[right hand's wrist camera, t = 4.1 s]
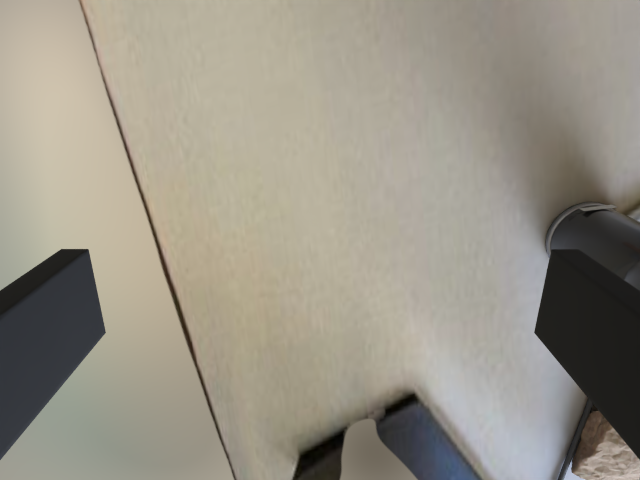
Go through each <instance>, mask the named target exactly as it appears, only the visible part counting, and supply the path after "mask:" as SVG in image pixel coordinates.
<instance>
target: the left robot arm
mask: <svg viewBox="0 0 640 480" xmlns="http://www.w3.org/2000/svg"><path fill="white" fill-rule="evenodd" d="M615 207H616V206H614V205H604V204H602V203H597V202H586V203H581V204H577V205H575V206H572V207H570V208H569V209H567V210H565V211H564V212H563V213H561V214H560V215H559V216H558V217H557V218H556V219H555V221H554V222H553V223H552V225H551V227H550V228H549V231H548V233H547V237H546V251H547V254H548V256H549V258H550V254H551V250H552V249H579V250H580V251H582V252H583V253H585V254H586V255H588V256H589V257H591V258H592V259H594V260H595V261H597V262H598V263H600V264H601V265H603V266H604V267H606V268H607V269H608V270H610V271H611V272H613V273H614V274H616V275H617V276H619V277H620V278H622V279H623V280H625V281H626V282H628V283H629V284H631V285H632V286H634V287H635V288H636V289H638V290H639V291H640V222H639V221H637V220H635V219H633V218H630V217H628V216H626V215H624V214H622V213H620V212H618V211H616V210H614V209H613V208H615ZM592 405H593V403H592V402H591V400H590V399H589V398H588V401H587V404H586V407H585V410H584V413H583V416H582V418H581V421H580V424H579V426H578V429H577V431H576V434H575V436H574V439H573V442H572V444H571V447H570V449H569V452H568V454H567V457H566V459H565V462H564V464H563V467H562V469H561V472H560V475H559V477H558V480H564V477H565V474H566V472H567V469H568V467H569V464H570V462H571V459H572V457H573V455H574V452H575V450H576V447H577V445H578V442H579V440H580V437H581V434H582V431H583V428H584V427H585V424H586V421H587V419H588V416H589V414H590V411H591V408H592Z"/></svg>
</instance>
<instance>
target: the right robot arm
mask: <svg viewBox="0 0 640 480" xmlns="http://www.w3.org/2000/svg"><path fill="white" fill-rule="evenodd" d="M105 333H106V332H105V327H104V322H103V317H102V313H101V308H100V303H99V298H98V293H97V289H96V284H95V279H94V274H93V269H92V264H91V260H90V254H89V250H88V249H61V250H60V251H58V252H57V253H55V254H54V255H52V256H51V257H49V258H48V259H46V260H45V261H43V262H42V263H40V264H39V265H37V266H36V267H34V268H33V269H32V270H30V271H29V272H27V273H26V274H24V275H23V276H21V277H20V278H18V279H17V280H15V281H14V282H12V283H11V284H9V285H8V286H6V287H5V288H4V289H2V290H1V291H0V460H1V458H2V457H3V456H4V455H5V454H6V452H7V451H8V450H9V449H10V447H11V446H12V445H13V444H14V443H15V442H16V440H17V439H18V438H19V437H20V435H21V434H22V433H23V432H24V431H25V429H26V428H27V427H28V426H29V425H30V423H31V422H32V421H33V420H34V419H35V417H36V416H37V415H38V414H39V413H40V411H41V410H42V409H43V408H44V406H45V405H46V404H47V403H48V402H49V400H50V399H51V398H52V397H53V396H54V394H55V393H56V392H57V391H58V390H59V388H60V387H61V386H62V385H63V383H64V382H65V381H66V380H67V379H68V377H69V376H70V375H71V374H72V373H73V371H74V370H75V369H76V368H77V367H78V365H79V364H80V363H81V362H82V361H83V359H84V358H85V357H86V356H87V355H88V353H89V352H90V351H91V350H92V348H93V347H94V346H95V345H96V344H97V342H98V341H99V340H100V339H101V338H102V336H103V335H104V334H105ZM534 333H535V334H536V335H537V336H538V338H539V339H540V340H541V341H542V342H543V344H544V345H545V346H546V347H547V348H548V350H549V351H550V352H551V353H552V355H553V356H554V357H555V358H556V359H557V361H558V362H559V363H560V364H561V365H562V367H563V368H564V369H565V370H566V371H567V373H568V374H569V375H570V376H571V377H572V379H573V380H574V381H575V382H576V384H577V385H578V386H579V387H580V388H581V390H582V391H583V392H584V393H585V394H586V396H587V397H588V398H589V399H590V400H591V402H592V403H593V404H594V405H595V406H596V408H597V409H598V410H599V411H600V413H601V414H602V415H603V416H604V417H605V419H606V420H607V421H608V422H609V423H610V425H611V426H612V427H613V428H614V429H615V431H616V432H617V433H618V434H619V435H620V437H621V438H622V439H623V440H624V442H625V443H626V444H627V445H628V446H629V448H630V449H631V450H632V451H633V452H634V454H635V455H636V456H637V457H638V458H639V460H640V291H639V290H638V289H636V288H635V287H634V286H632V285H631V284H629V283H628V282H626V281H625V280H623V279H622V278H620V277H619V276H617V275H616V274H614V273H613V272H611V271H610V270H608V269H607V268H606V267H604V266H603V265H601V264H600V263H598V262H597V261H595V260H594V259H592V258H591V257H589V256H588V255H586V254H585V253H583V252H582V251H580V250H579V249H552V250H551V254H550V259H549V264H548V269H547V274H546V279H545V284H544V288H543V293H542V298H541V303H540V308H539V313H538V317H537V322H536V327H535V332H534Z"/></svg>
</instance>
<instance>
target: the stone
mask: <svg viewBox="0 0 640 480" xmlns="http://www.w3.org/2000/svg"><path fill="white" fill-rule="evenodd" d="M571 470H572V473H574V474H575V475H577V476H579V477H580V478H583V479H586V480H640V460H639V458H638V457H637V456H636V455H635V454H634V452H633V451H632V450H631V449H630V448H629V446H628V445H627V444H626V443H625V442H624V440H623V439H622V438H621V437H620V435H619V434H618V433H617V432H616V431H615V429H614V428H613V427H612V426H611V425H610V423H609V422H608V421H607V420H606V419H605V417H604V416H603V415H602V414H601V413H600V411H593V412H591V413H590V414H589V416H588V419H587V421H586V424H585V427H584V428H583V431H582V434H581V441H580V443H579V444H578V447H577V450H576V453H575V456H574V457H573V460H572V468H571Z"/></svg>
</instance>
